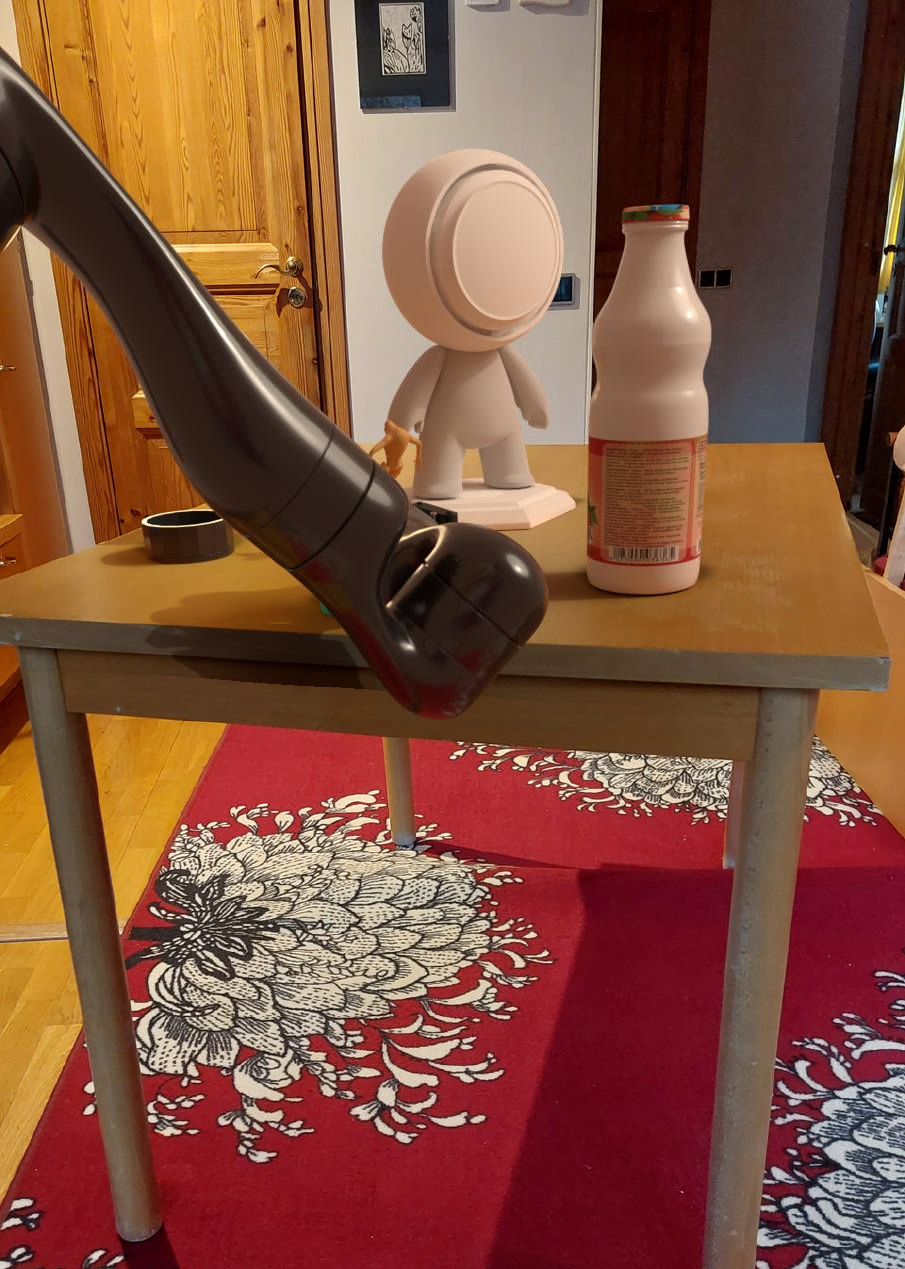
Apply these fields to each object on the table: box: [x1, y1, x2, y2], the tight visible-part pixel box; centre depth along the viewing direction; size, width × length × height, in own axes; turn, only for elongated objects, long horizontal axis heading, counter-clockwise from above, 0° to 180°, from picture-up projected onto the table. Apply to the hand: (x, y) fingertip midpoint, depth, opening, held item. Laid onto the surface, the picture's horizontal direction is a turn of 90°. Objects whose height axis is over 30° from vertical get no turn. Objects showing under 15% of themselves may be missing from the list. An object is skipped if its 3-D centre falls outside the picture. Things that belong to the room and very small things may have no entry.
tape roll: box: [140, 509, 236, 565], centre depth 109 cm, size 9×9×4 cm
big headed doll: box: [381, 148, 577, 531], centre depth 116 cm, size 20×23×35 cm
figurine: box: [368, 419, 422, 480], centre depth 107 cm, size 8×6×12 cm
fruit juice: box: [586, 204, 712, 595], centre depth 87 cm, size 9×9×28 cm
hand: (345, 514), depth 89 cm, fingers closed on candle, 5 cm apart
